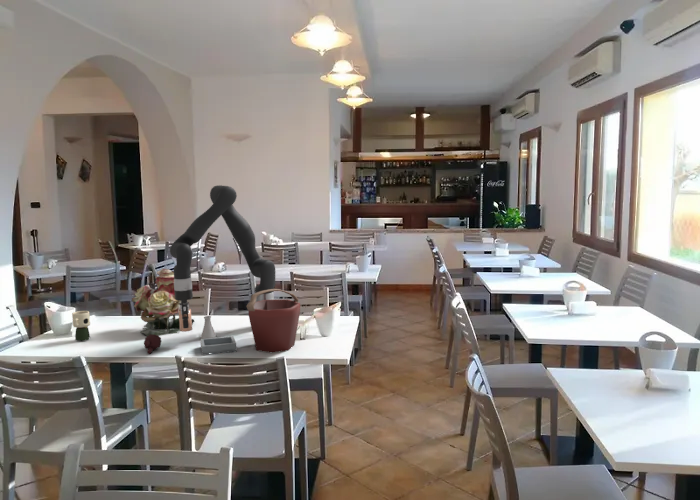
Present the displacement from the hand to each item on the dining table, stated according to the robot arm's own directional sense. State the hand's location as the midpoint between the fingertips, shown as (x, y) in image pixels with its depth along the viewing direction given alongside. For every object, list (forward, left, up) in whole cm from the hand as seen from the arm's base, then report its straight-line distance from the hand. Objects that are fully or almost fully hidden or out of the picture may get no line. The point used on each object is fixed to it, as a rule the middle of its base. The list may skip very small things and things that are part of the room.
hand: (185, 326), depth 251 cm
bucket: (-36, +15, -9) cm, 40 cm away
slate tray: (-13, +11, -9) cm, 19 cm away
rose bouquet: (+9, -31, -9) cm, 34 cm away
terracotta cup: (0, 0, -2) cm, 2 cm away
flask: (-10, -9, -9) cm, 16 cm away
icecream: (+14, +2, -9) cm, 17 cm away
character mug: (+45, -25, -9) cm, 52 cm away
